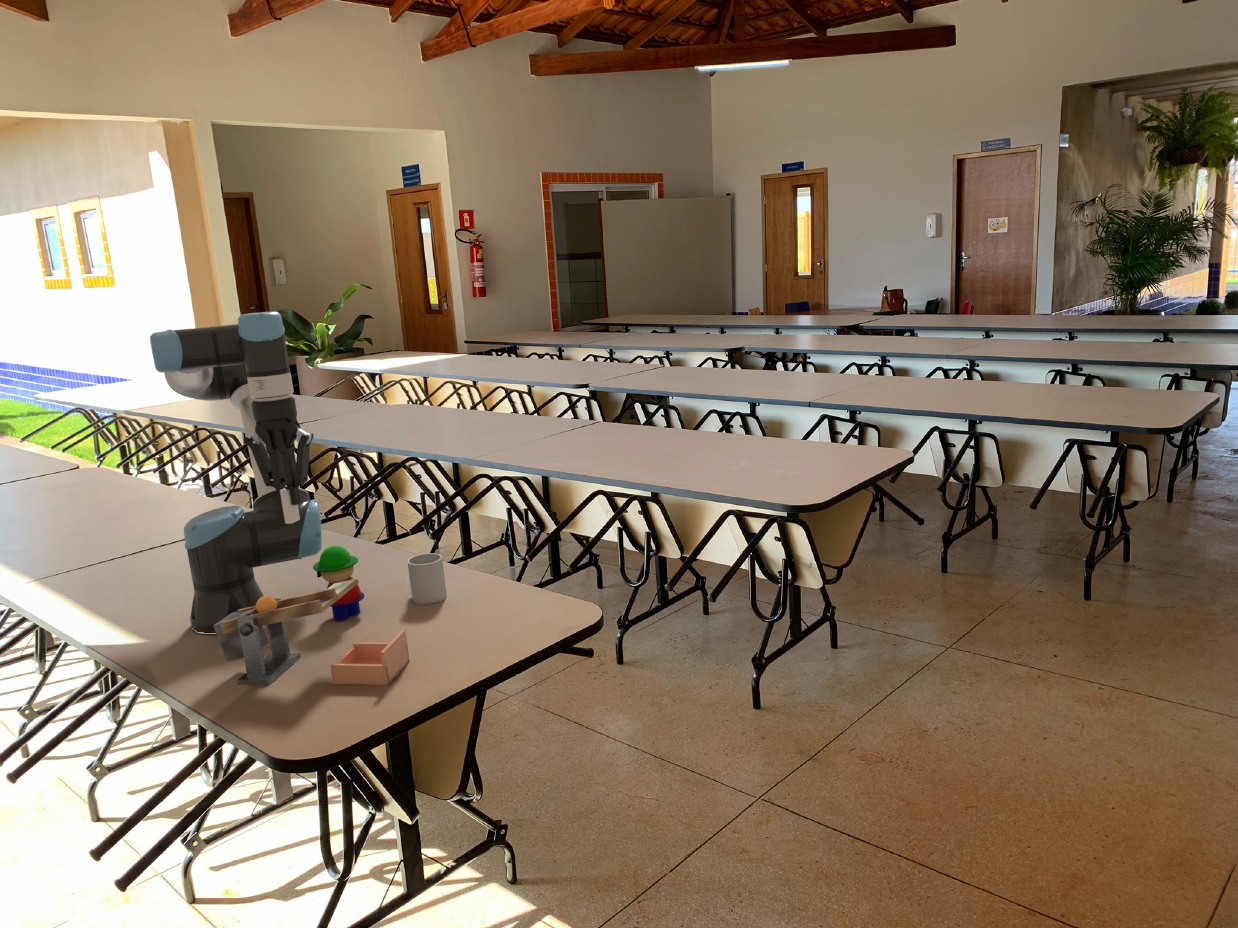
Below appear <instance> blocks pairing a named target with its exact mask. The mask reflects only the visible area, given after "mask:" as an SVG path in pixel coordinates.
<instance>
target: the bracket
mask: <svg viewBox="0 0 1238 928" xmlns="http://www.w3.org/2000/svg"><path fill="white" fill-rule="evenodd" d="M274 599H275V600H276V601H279V600H282V598H274ZM237 622H238V627H239V633H240V638H241V644H242V649H243V655H244V658H243V659H244V665H245V670H246V671H245V673H244V674H242V676H241V677H239V678H238V679H237V680H236V684H237V685H248V686H249V685H250V686H256V685H257V686H258V685H259V686H270V685H271V684H272V683H273V682H275V680H276V679H277V678H279V677H280V676H281V675H282V674H284V673H285V672H286V671H287V670H288V669H289V668H291V666H293V665H294V664H295V663H296V662H297V661H299V660H300V658H302V656H301V652H290V645H289V638H288V632H287V626H286V621H282V622H277V623H273V624H268V625H266V627H267V631H268V638H269V644H270V649H271V652H270V653H269V654H268V655H266V656H265V657H264V656H263V655H264V654H263V650H262V649H263V648H261V643H260V637H259V631H258V626H257V620H256V617H239V618H237Z"/></svg>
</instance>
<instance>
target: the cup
mask: <svg viewBox="0 0 1238 928" xmlns="http://www.w3.org/2000/svg"><path fill="white" fill-rule="evenodd" d="M407 568H408V576H409V583H410V594H411V599H412V601H413V602H414V603H415V604H417V605H421V606H422V605H423V606H424V605H425V606H426V605H433V604H437V603H439V602H442V601H443V600H445V599H446V597H447V587H446V586H447V585H446V580H445V579H446V577H445V569H444V563H443V555H441V554H439V553H435V552H434V553H432V552H430V553H421V554H417V555H414V556H412V557H409V558H408V559H407Z"/></svg>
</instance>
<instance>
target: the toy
mask: <svg viewBox="0 0 1238 928" xmlns="http://www.w3.org/2000/svg"><path fill="white" fill-rule="evenodd" d="M358 562H359V558H358V557H357V556H355V555H351V553H350V552H349V551H348V550H347V549H346V548H345V547H342V546H340V545H331V546H329V547H327V548H325V549H323V551H322V552H321V555H320V557H319V561H318V562H317V561H316V562H315V563H314V564H313V565H312V569H313V570H314V571H315V572H316V576H317V578H318V579H319V578H321V577H322V578H323V580H325V581H326V582H327V583H328V584H327V586H326V590H327V589H328V588H329V587H330V586H332V585H333V584H335V583H339V582H344V581H348V580H353V579H354V578H353V577H352V575H353V573H354V571H355V569H354V566H355V565H356V564H357V563H358ZM364 598H365V594H364V592H362V591H361V588H360V585H359V583H358V584H357V585H356V586H354V587H353V588H352V589H351V590H349V591H348V592H347V593H346V594H344V595H343V596H342V597H341V598H340V599H338V600H337V601H336V602H335V603H333V604H332V605H331V606H330V607H329V608H331V610H332V617H333V621H334V622H343V621H347V620H348V619H349V617H350V618H351V617H355V616H356V617H357V616H358V615H360V614H361V606H360V601H362V600H364Z"/></svg>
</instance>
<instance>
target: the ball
mask: <svg viewBox="0 0 1238 928" xmlns="http://www.w3.org/2000/svg"><path fill="white" fill-rule="evenodd" d="M275 599H276V598H274V597H273V596H270V595H264V596H263V597H261V598H260V599H259V600H258V601H257V603H256V610H257V611H258V613H262V612H266V611H271V610H275V609H276V608H277V602H276V600H275Z"/></svg>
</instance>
